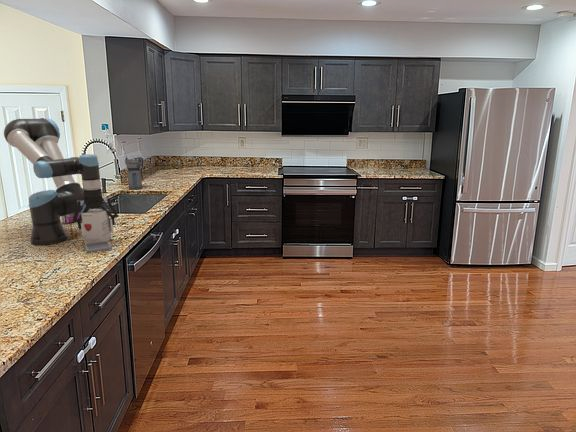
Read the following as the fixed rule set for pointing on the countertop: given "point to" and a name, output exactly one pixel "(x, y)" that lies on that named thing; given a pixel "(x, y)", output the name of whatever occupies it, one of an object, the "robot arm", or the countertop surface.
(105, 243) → the slate coaster
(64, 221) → the candy bar box
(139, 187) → the gray tapered canister
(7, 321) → the countertop surface
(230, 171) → the countertop surface
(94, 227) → the supplement box
